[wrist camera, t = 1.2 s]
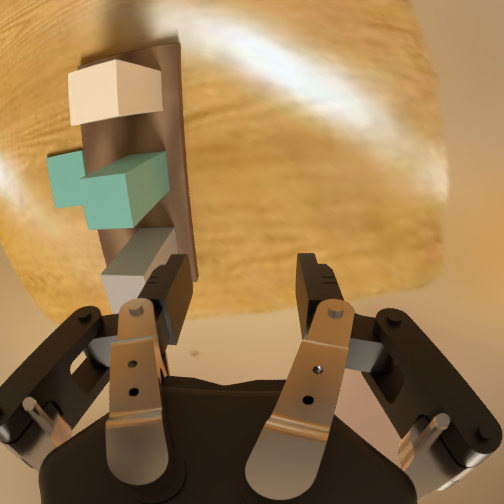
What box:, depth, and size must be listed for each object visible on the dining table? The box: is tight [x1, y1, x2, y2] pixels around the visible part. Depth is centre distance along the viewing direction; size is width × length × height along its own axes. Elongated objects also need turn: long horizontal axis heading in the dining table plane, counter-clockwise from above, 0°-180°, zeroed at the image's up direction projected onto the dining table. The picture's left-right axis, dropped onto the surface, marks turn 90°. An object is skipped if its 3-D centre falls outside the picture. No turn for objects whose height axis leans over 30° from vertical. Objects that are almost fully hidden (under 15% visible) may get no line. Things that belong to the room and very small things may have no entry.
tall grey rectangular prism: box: [101, 227, 178, 314], centre depth 34 cm, size 5×5×12 cm
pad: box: [46, 150, 87, 208], centre depth 37 cm, size 7×8×1 cm
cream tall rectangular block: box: [68, 59, 163, 126], centre depth 25 cm, size 5×5×12 cm
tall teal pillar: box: [78, 151, 170, 230], centre depth 30 cm, size 5×5×12 cm
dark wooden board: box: [78, 43, 199, 282], centre depth 36 cm, size 14×32×2 cm, turn 2°
